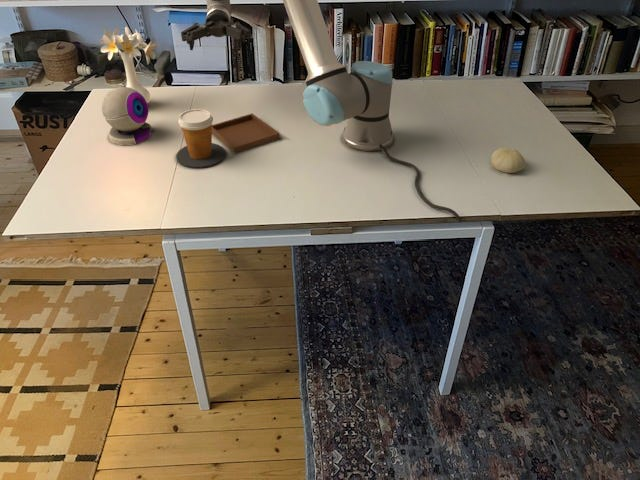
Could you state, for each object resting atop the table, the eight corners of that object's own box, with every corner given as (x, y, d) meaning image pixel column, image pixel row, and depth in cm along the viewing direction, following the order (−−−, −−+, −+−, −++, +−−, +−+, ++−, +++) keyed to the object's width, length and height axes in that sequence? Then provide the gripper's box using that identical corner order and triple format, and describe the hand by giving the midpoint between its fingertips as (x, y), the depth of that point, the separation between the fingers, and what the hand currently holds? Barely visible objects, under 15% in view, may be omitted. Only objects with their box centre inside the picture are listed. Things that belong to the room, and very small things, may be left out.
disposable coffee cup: (224, 151, 159) (219, 113, 151) (201, 165, 152) (196, 126, 145) (199, 143, 162) (194, 105, 155) (176, 156, 156) (170, 118, 149)
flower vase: (161, 115, 178) (146, 38, 162) (106, 113, 179) (86, 36, 163) (172, 99, 188) (160, 24, 172) (120, 96, 189) (103, 22, 173)
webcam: (136, 148, 161) (126, 100, 152) (100, 141, 164) (87, 94, 155) (160, 128, 171) (151, 83, 161) (125, 122, 174) (114, 77, 164)
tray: (279, 138, 166) (279, 133, 165) (234, 153, 159) (234, 147, 158) (252, 118, 177) (252, 113, 175) (209, 131, 169) (208, 126, 168)
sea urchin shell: (509, 173, 147) (499, 146, 148) (491, 181, 155) (481, 155, 155) (534, 165, 151) (524, 138, 151) (515, 173, 158) (506, 147, 158)
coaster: (234, 158, 156) (233, 157, 156) (189, 173, 150) (189, 171, 150) (211, 139, 165) (211, 138, 165) (168, 153, 159) (168, 151, 159)
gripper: (258, 32, 174) (260, 56, 158) (179, 34, 172) (172, 59, 156) (257, 8, 169) (258, 29, 153) (175, 10, 167) (168, 32, 151)
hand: (215, 44), depth 154 cm, fingers open, 13 cm apart
